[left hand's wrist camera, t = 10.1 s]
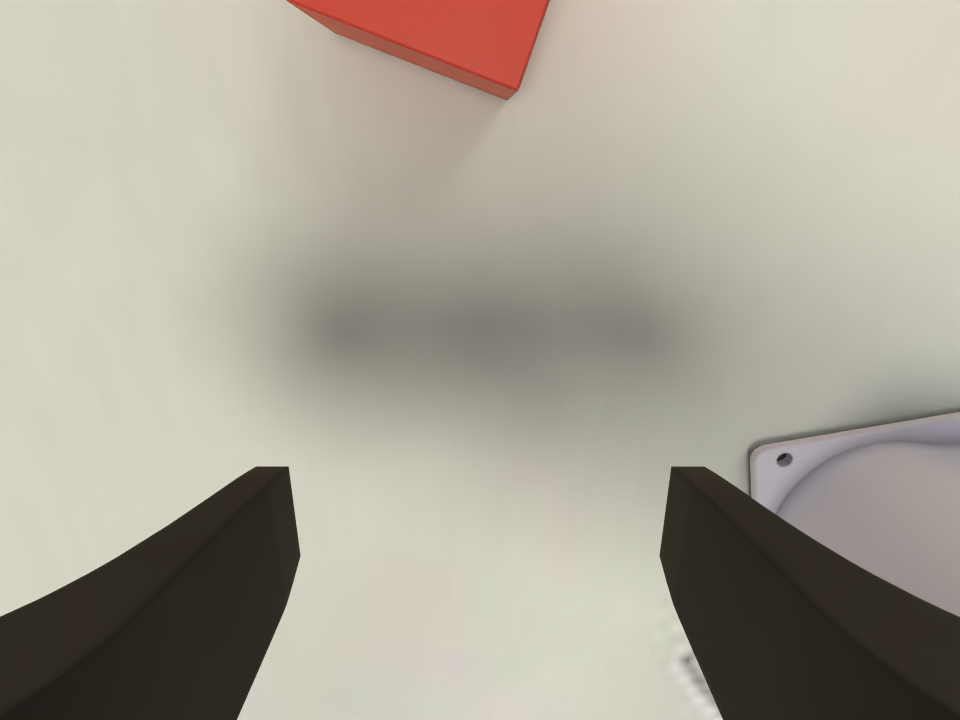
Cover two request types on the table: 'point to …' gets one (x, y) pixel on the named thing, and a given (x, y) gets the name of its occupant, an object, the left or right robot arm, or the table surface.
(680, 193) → the table surface
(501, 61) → the brick
